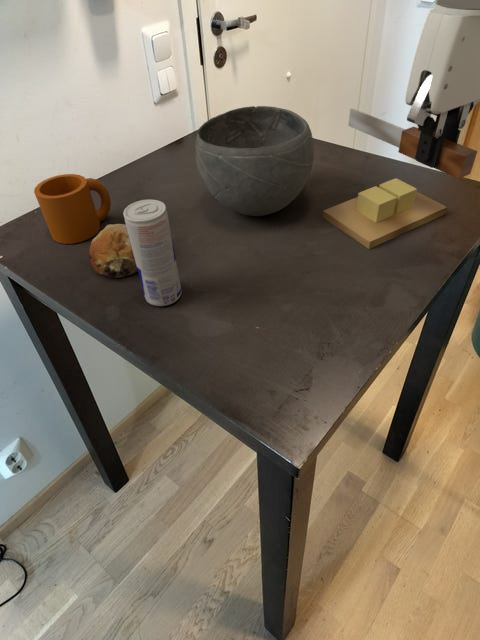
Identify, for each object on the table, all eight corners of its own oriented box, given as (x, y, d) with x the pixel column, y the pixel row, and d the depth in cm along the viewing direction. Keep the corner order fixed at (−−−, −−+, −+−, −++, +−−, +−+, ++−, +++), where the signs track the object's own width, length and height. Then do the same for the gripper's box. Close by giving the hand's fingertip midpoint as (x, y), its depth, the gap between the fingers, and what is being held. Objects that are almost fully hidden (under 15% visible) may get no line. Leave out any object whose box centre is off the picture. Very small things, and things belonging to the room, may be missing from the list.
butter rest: (392, 195, 85) (395, 177, 83) (413, 206, 82) (417, 188, 80) (376, 202, 84) (379, 184, 81) (396, 214, 81) (400, 195, 78)
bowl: (278, 169, 98) (278, 94, 88) (334, 215, 84) (342, 132, 74) (185, 195, 92) (174, 118, 82) (229, 248, 78) (222, 164, 68)
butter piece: (372, 203, 84) (375, 185, 81) (393, 215, 80) (396, 197, 78) (355, 210, 82) (358, 192, 80) (375, 223, 79) (379, 204, 77)
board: (395, 188, 90) (396, 181, 89) (445, 214, 82) (447, 207, 81) (322, 217, 84) (322, 210, 83) (368, 249, 76) (370, 241, 75)
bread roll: (162, 273, 80) (165, 227, 77) (125, 286, 71) (127, 234, 69) (115, 261, 84) (117, 216, 81) (74, 271, 75) (75, 222, 72)
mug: (122, 231, 84) (110, 186, 78) (55, 249, 81) (36, 203, 75) (111, 209, 90) (99, 165, 84) (49, 225, 87) (31, 180, 81)
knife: (470, 174, 59) (477, 151, 57) (458, 179, 58) (465, 156, 56) (354, 124, 72) (356, 104, 70) (343, 128, 71) (345, 107, 69)
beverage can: (189, 291, 71) (174, 204, 61) (166, 313, 68) (146, 224, 57) (161, 280, 73) (142, 194, 63) (137, 300, 70) (113, 213, 60)
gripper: (492, -23, 54) (450, 135, 66) (393, -1, 48) (368, 168, 61) (555, -16, 49) (497, 153, 62) (453, 9, 43) (412, 190, 56)
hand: (433, 159), depth 61 cm, fingers closed on knife, 2 cm apart
